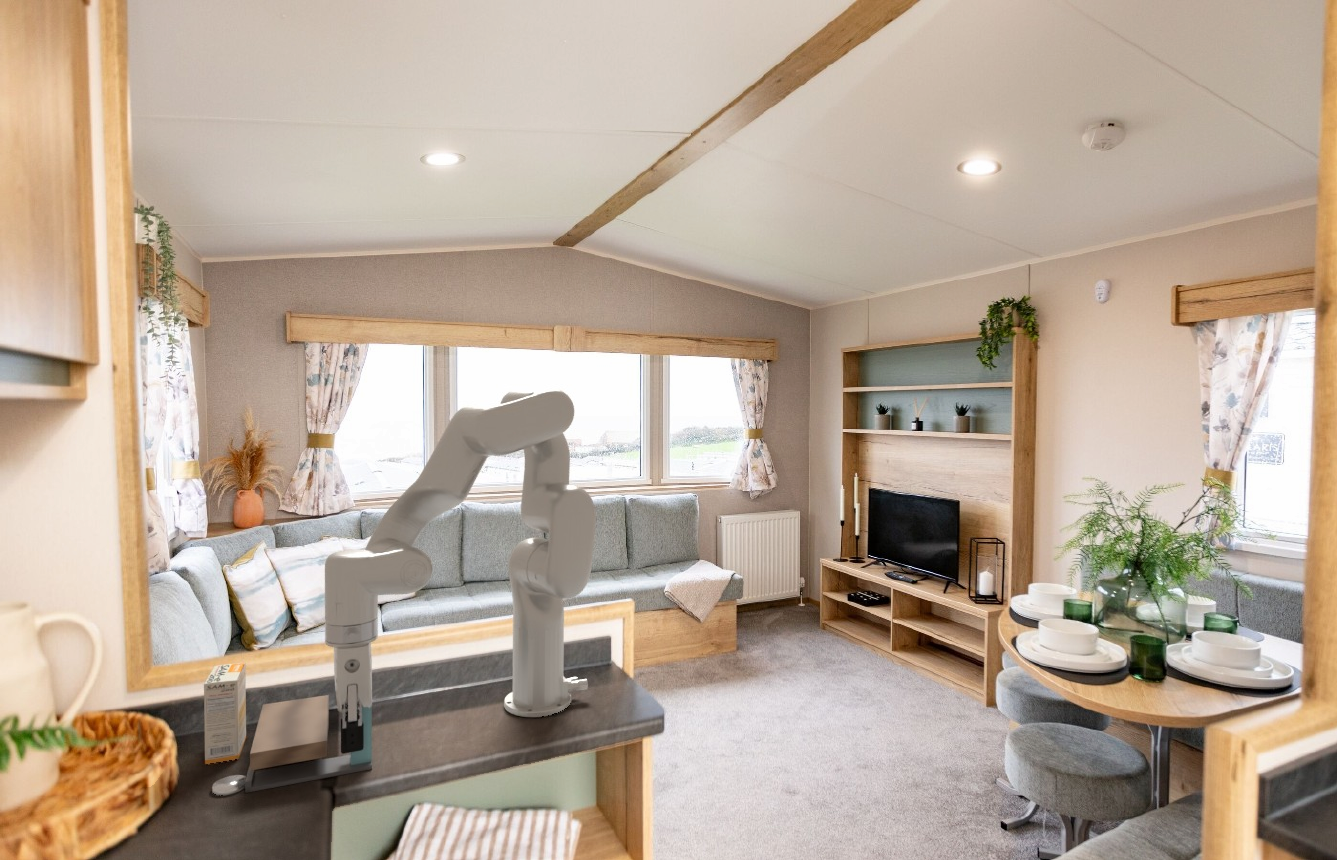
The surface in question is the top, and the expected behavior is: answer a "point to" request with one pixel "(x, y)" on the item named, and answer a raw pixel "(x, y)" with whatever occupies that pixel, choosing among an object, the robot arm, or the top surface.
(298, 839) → the top surface
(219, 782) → the steel token
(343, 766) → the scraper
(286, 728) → the low block
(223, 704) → the supplement box
